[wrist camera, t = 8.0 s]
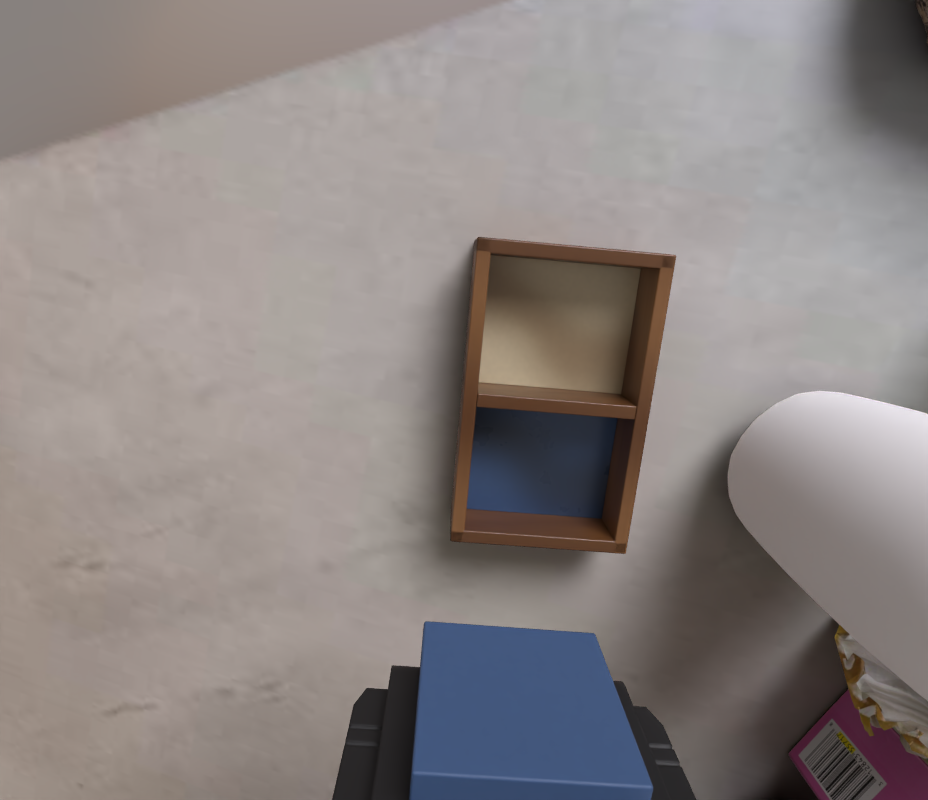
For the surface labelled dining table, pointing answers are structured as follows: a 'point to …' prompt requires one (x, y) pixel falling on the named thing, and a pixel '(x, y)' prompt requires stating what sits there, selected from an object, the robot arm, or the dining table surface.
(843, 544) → the cup
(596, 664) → the block
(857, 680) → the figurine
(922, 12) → the stone
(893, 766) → the box
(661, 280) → the sorter
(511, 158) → the dining table surface
